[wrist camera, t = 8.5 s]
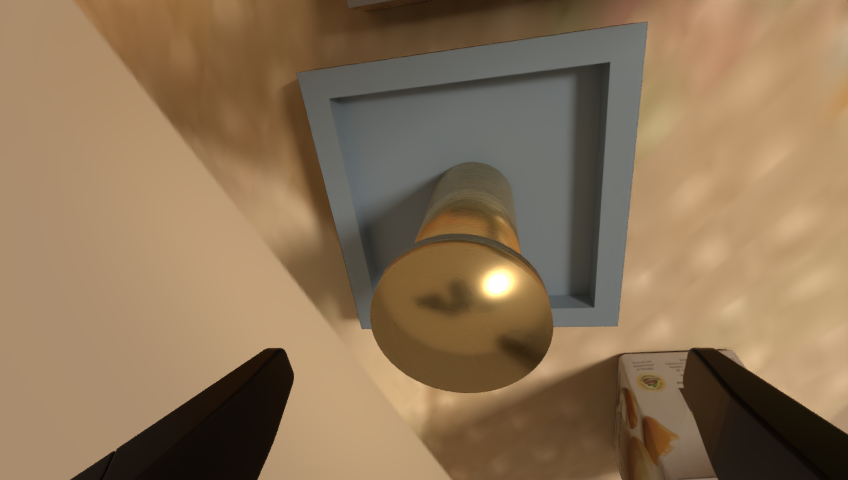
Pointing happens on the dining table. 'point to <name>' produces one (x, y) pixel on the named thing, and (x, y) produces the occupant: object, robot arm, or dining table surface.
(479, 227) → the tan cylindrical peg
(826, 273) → the dining table surface
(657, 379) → the coffee box
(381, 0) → the block
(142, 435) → the robot arm
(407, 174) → the tray
